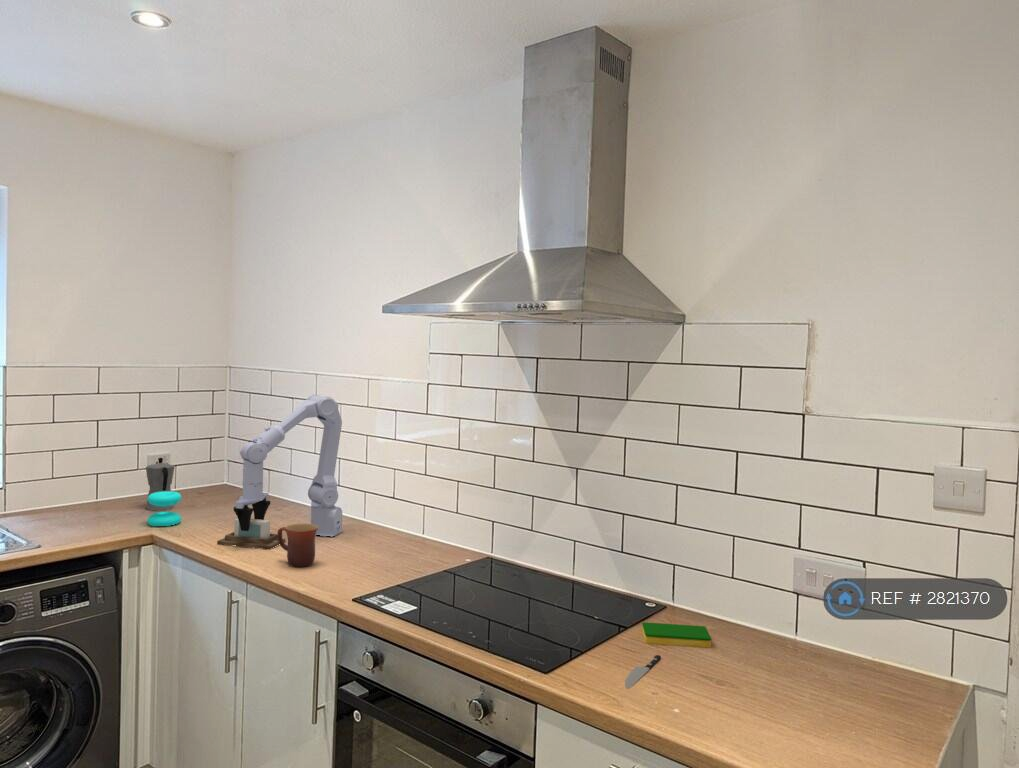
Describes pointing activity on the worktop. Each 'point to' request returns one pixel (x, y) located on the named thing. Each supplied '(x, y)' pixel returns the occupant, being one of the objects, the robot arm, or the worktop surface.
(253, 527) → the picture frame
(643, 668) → the chef's knife
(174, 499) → the donuts
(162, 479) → the coffeepot
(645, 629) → the dish sponge
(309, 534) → the mug
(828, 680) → the worktop surface
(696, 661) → the worktop surface
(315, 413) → the robot arm
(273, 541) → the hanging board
